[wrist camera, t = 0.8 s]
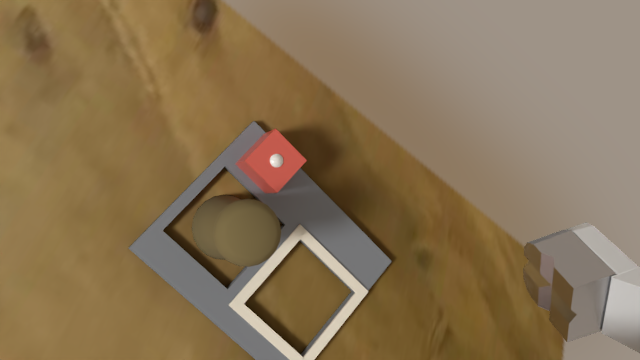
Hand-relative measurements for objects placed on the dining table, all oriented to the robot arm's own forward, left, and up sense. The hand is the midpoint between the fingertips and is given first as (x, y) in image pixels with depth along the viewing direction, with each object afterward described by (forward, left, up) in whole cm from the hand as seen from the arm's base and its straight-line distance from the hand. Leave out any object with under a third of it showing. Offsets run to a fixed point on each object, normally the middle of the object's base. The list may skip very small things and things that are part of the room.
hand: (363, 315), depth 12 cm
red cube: (+1, +10, -38) cm, 39 cm away
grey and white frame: (+8, +4, -39) cm, 40 cm away
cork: (+3, +3, -39) cm, 39 cm away
